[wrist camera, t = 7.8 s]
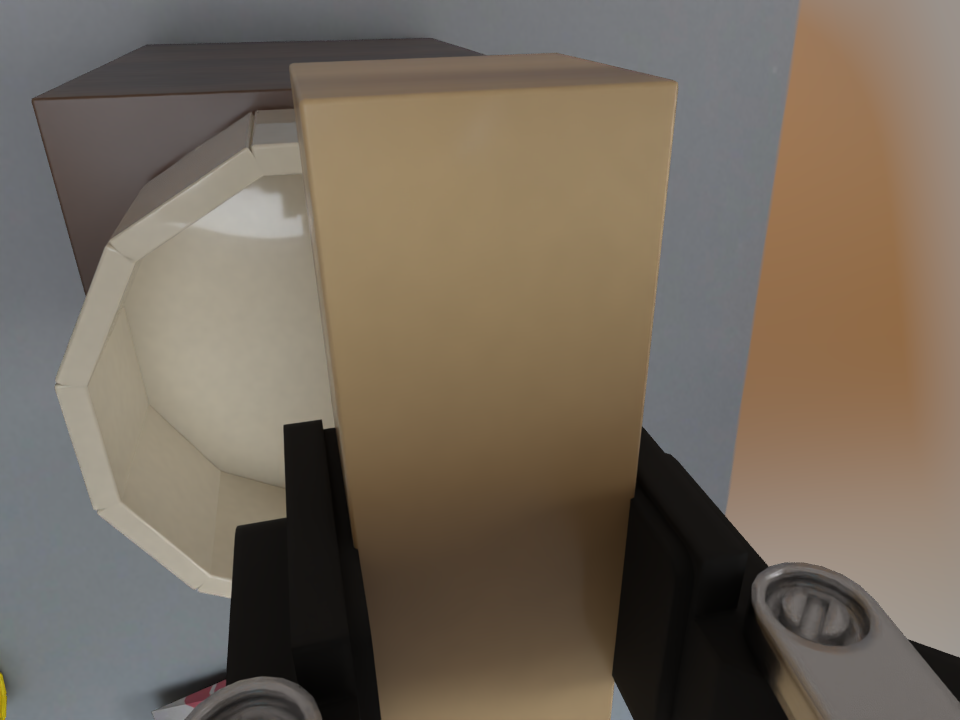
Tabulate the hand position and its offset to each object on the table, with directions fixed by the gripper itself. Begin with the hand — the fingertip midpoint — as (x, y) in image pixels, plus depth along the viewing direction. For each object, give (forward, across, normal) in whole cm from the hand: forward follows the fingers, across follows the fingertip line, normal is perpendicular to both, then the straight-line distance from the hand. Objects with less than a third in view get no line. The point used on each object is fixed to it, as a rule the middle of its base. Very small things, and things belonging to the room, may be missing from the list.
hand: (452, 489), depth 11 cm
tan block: (0, 0, +3) cm, 3 cm away
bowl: (+11, +1, +2) cm, 11 cm away
